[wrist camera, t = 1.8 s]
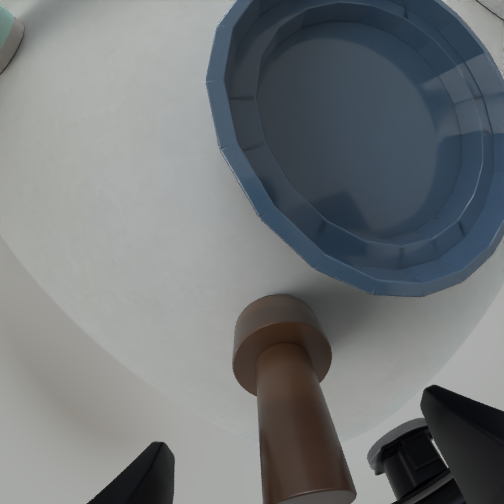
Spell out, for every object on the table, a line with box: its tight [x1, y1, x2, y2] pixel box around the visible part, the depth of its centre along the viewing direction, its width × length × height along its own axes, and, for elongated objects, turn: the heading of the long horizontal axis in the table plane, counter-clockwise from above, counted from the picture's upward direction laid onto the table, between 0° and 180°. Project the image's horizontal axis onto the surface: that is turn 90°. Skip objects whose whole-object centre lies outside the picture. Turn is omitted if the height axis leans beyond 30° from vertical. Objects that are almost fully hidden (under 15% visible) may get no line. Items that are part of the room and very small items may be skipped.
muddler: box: [232, 295, 357, 504], centre depth 9 cm, size 4×4×10 cm
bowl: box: [206, 0, 504, 297], centre depth 10 cm, size 15×15×4 cm
